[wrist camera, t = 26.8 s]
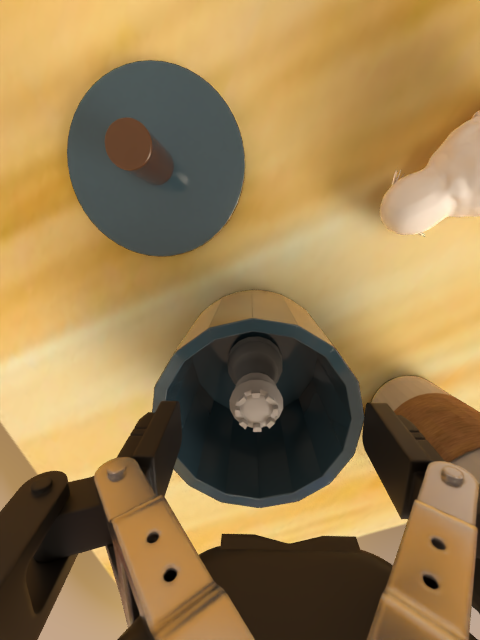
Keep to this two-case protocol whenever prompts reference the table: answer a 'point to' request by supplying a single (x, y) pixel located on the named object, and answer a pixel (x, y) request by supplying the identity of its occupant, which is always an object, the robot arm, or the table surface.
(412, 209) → the white figurine
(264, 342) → the rook chess piece
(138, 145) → the lid
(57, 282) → the table surface
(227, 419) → the canister
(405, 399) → the coffee cup
